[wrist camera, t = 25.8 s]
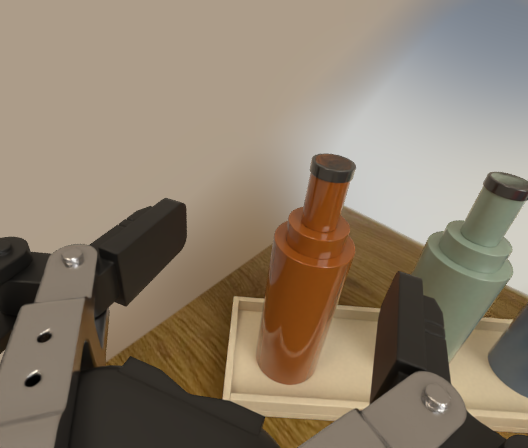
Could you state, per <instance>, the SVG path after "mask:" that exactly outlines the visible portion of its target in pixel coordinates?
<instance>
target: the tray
mask: <svg viewBox="0 0 528 448" xmlns="http://www.w3.org/2000/svg"><path fill="white" fill-rule="evenodd" d="M263 302H264V299H261V298H249V297H236V296H234V299H233V308H232V317H231V326H230V335H229V344H228V353H227V362H226V371H225V380H224V389H223V398H222V399H223V400H229V401H232V402H234V403H236V404H238V405H241V406H243V407H245V408H247V409H249V410H252V411H254V412H256V413H258V414H261V415H263V416H268V417H283V418H299V419H314V420H330V421H336V420H337V419H339V418H340V417H341V416H343V415H344V414H346V413H347V412H349V411H351V410H353V409H355V408H358V409H359V411H360V410H363V409H364V408H366V407H367V406H369V403H370V393H371V383H372V373H373V363H374V353H375V343H376V334H377V324H378V316H379V312H380V309H379V308H367V307H355V306H343V305H337V308H336V311H335V314H334V317H333V320H332V323H331V326H330V328H329V331H328V334H327V337H326V340H325V343H324V346H323V349H322V352H321V355H320V358H319V361H318V364H317V367H316V369H315V372H314V373H313V375H312V376H311V377H310V378H309V379H308V380H306V381H305V382H303V383H300V384H296V385H285V384H280V383H277V382H275V381H273V380H271V379H270V378H268V377H267V376H266V375H265V374H264V373H263V372H262V371H261V369H260V368H259V366H258V364H257V361H256V346H257V339H258V333H259V327H260V321H261V315H262V308H263ZM512 321H513V320H508V319H496V318H484V317H483V318H482V319H481V320H480V322H479V323H478V325H477V326H476V328H475V329H474V330H473V332H472V333H471V335H470V336H469V337H468V339H467V340H466V342H465V343H464V344H463V346H462V347H461V349H460V350H459V351H458V353H457V354H456V356H455V357H454V359H453V360H452V361H451V363H450V364H449V370H450V378H451V385H452V386H453V387H454V388H455V389H456V390H457V391H458V393H459V394H460V395H461V397H462V399H463V401H464V403H465V407H466V410H467V411H468V412H469V413H470V414H471V415H472V416H473V417H475V418H476V419H477V420H479V421H480V422H481V423H483V424H484V425H486V426H487V427H489V428H490V429H492V430H493V431H500V432H516V433H528V398H527V397H524V396H522V395H520V394H518V393H517V392H515V391H513V390H512V389H510V388H509V387H508V386H507V385H505V384H504V383H503V382H502V381H501V380H500V379H499V378H498V377H497V376H496V374H495V373H494V372H493V370H492V369H491V367H490V365H489V362H488V352H489V350H490V349H491V348H492V346H493V345H494V344H495V342H496V341H497V340H498V339H499V337H500V336H501V335H502V334H503V332H504V331H505V330H506V329H507V327H508V326H509V325H510V323H511V322H512Z"/></svg>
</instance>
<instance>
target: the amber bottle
mask: <svg viewBox="0 0 528 448" xmlns="http://www.w3.org/2000/svg"><path fill="white" fill-rule="evenodd" d="M355 169H356V165H355V164H354V162H352V161H351V160H349V159H347V158H345V157H342V156H339V155H334V154H318V155H315V156H313V158H312V161H311V166H310V172H311V174H310V179H309V184H308V188H307V193H306V198H305V203H304V207H300V208H297V209H295V210H293V211H292V212H291V213H290V215H289V218H288V221H286V222H284V223H282V224H281V225H280V226H279V227H278V228H277V229H276V231H275V234H274V240H273V246H272V252H271V259H270V265H269V271H268V277H267V283H266V290H265V296H264V302H263V308H262V315H261V321H260V327H259V333H258V339H257V346H256V361H257V364H258V366H259V368H260V369H261V371H262V372H263V373H264V374H265V375H266V376H267V377H268V378H270V379H271V380H273V381H275V382H277V383H280V384H285V385H296V384H300V383H303V382H305V381H306V380H308V379H309V378H310V377H311V376H312V375H313V373H314V372H315V369H316V367H317V364H318V361H319V358H320V355H321V352H322V349H323V346H324V343H325V340H326V337H327V334H328V331H329V328H330V326H331V323H332V320H333V317H334V314H335V311H336V308H337V305H338V302H339V299H340V296H341V293H342V290H343V287H344V284H345V281H346V278H347V275H348V273H349V270H350V267H351V264H352V261H353V258H354V255H355V245H354V243H353V241H352V239H351V238H350V237H349V232H350V226H349V224H348V222H347V221H346V220H345V219H344V218H343V217H342V216H341V212H342V209H343V205H344V202H345V198H346V195H347V191H348V188H349V184H350V181H351V180H352V179H353V175H354V172H355Z"/></svg>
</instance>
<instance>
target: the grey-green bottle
mask: <svg viewBox="0 0 528 448" xmlns="http://www.w3.org/2000/svg"><path fill="white" fill-rule="evenodd" d="M527 200H528V181H526V180H525V179H523V178H520V177H517V176H515V175H512V174H508V173H503V172H490V173H489V174H488V175H487V177H486V179H485V180H484V182H483V188H482V190H481V191H480V193H479V195H478V197H477V199H476V201H475V203H474V204H473V206H472V208H471V210H470V212H469V214H468V216H467V218H466V220H465V221H460V220H459V221H453V222H450V223H449V224H448V225H447V227H446V229H445V231H441V232H436V233H433V234H432V235H431V236H430V237H429V238H428V240H427V242H426V244H425V246H424V248H423V250H422V252H421V254H420V257H419V259H418V261H417V263H416V265H415V267H414V269H413V271H412V273H411V275H413V276H416V277H419V278H422V281H423V295H425V296H428V297H431V298H434V299H435V300H436V302H437V304H438V305H439V307H440V309H441V310H442V312H443V318H444V328H445V335H446V337H445V340H446V344H447V353H448V361H449V364H450V363H451V361H452V360H453V359H454V357H455V356H456V354H457V353H458V351H459V350H460V349H461V347H462V346H463V344H464V343H465V342H466V340H467V339H468V337H469V336H470V335H471V333H472V332H473V330H474V329H475V328H476V326H477V325H478V323H479V322H480V320H481V319H482V318H483V316H484V315H485V313H486V312H487V311H488V309H489V308H490V306H491V305H492V304H493V302H494V301H495V299H496V298H497V296H498V295H499V294H500V292H501V291H502V289H503V288H504V287H505V285H506V284H507V282H508V281H509V280H510V278H511V277H512V275H513V268H512V265H511V263H510V262H509V260H508V257H509V256H510V254H511V253H512V246H511V244H510V243H509V241H508V240H507V239H506V238H504V235H505V234H506V232H507V230H508V229H509V227H510V226H511V224H512V223H513V221H514V219H515V218H516V216H517V215H518V213H519V212H520V210H521V208H522V207H523V205H524V204H525V202H526V201H527Z"/></svg>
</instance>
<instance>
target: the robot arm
mask: <svg viewBox="0 0 528 448" xmlns="http://www.w3.org/2000/svg"><path fill="white" fill-rule="evenodd" d="M186 223H187V221H186V205H185V204H184V203H181V202H178V201H175V200H171V199H168V198H164V199H163V200H161V201H160V202H158V203H157V204H156V205H154V206H153V207H151V206H149V207H146V208H144V209H141V210H138V211H136V212H135V213H133V214H132V215H131V216H129V217H128V218H127V220H126V219H125V220H123V221H122V222H121V223H120V224H119V225H116V226H115V227H114V228H112V229H111V230H110V231H108V232H107V233H105V234H104V235H102V236H101V237H100V238H98V239H97V240H95V241H94V242H93V243H91V244H90V245H85V244H73V245H68V246H65V247H62V248H60V249H58V250H56V251H55V252H53V253H52V254H48V253H38V252H30V249H29V246H28V243H27V241H26V240H24V239H22V238H18V237H4V238H0V354H1V353H2V352H3V351H4V350H5V352H4V355H3V357H2V360H1V363H0V448H280V446H279V445H278V444H277V442H276V441H275V440H274V439H273V438H272V437H271V436H270V435H269V434H268V433H267V432H266V431H265V430H264V429H262V427H263V423H264V419H265V416H263V415H261V414H258V413H256V412H254V411H252V410H249V409H247V408H245V407H243V406H241V405H238V404H236V403H234V402H232V401H229V400H223V399H217V398H210V397H204V396H198V395H192V394H189V393H187V392H186V391H185V390H184V389H182V388H181V387H180V386H179V385H178V384H177V383H176V382H174V381H173V380H172V379H171V378H170V377H169V376H167V375H166V374H165V373H164V372H163V371H162V370H160V369H158V368H156V367H154V366H151V365H149V364H147V363H145V362H142V361H140V360H138V359H136V358H133V357H131V356H130V357H129V358H128V360H127V361H126V362H125V363H124V365H123V366H106V347H107V335H108V324H109V306H110V305H111V304H113V303H114V302H116V303H118V304H121V305H123V306H127V305H128V304H129V303H130V302H131V301H132V300H133V299H134V298H135V297H136V296H137V295H138V294H139V293H140V292H141V291H142V290H143V289H144V288H145V287H146V286H147V285H148V284H149V283H150V282H151V281H152V280H153V278H155V277H156V276H157V275H158V274H159V273H160V271H161V270H162V269H163V268H164V267H165V266H166V265H167V264H168V263H169V262H170V261H171V260H172V259H173V258H174V257H175V256H176V255H177V254H178V253H179V252H180V251H181V250H182V248H183V247H184V244H185V242H186V238H187V224H186ZM445 337H446V335H445V328H444V318H443V312H442V310H441V309H440V307H439V305H438V304H437V302H436V300H435V299H434V298H431V297H428V296H425V295H423V281H422V278H419V277H416V276H413V275H410V274H406V273H403V272H400V271H398V272H397V273H396V275H395V277H394V279H393V281H392V283H391V286H390V288H389V290H388V292H387V294H386V296H385V299H384V301H383V303H382V306H381V309H380V312H379V316H378V324H377V334H376V343H375V353H374V363H373V373H372V383H371V393H370V403H369V406H367V407H366V408H364V409H363V410H360V411H359V409H358V408H355V409H353V410H351V411H349V412H347V413H346V414H344V415H343V416H341V417H340V418H339V419H337V420H336V421H334V422H333V423H331V424H330V425H329V426H327V427H326V428H324V429H323V430H322V431H320V432H319V433H317V434H316V435H314V436H313V437H312V438H310V439H309V440H307V441H306V442H304V443H303V444H302V445H300V446H299V447H297V448H528V436H525V435H513V436H511V437H509V438H508V439H507V440H506V439H505V438H504V437H502V436H501V435H499V434H498V433H496V432H495V431H493V430H492V429H490V428H489V427H487V426H486V425H484V424H483V423H481V422H480V421H479V420H477V419H476V418H475V417H473V416H472V415H471V414H470V413H469V412H468V411H467V410H466V407H465V403H464V401H463V399H462V397H461V395H460V394H459V393H458V391H457V390H456V389H455V388H454V387H453V386H452V385H451V378H450V370H449V361H448V353H447V344H446V340H445Z"/></svg>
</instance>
